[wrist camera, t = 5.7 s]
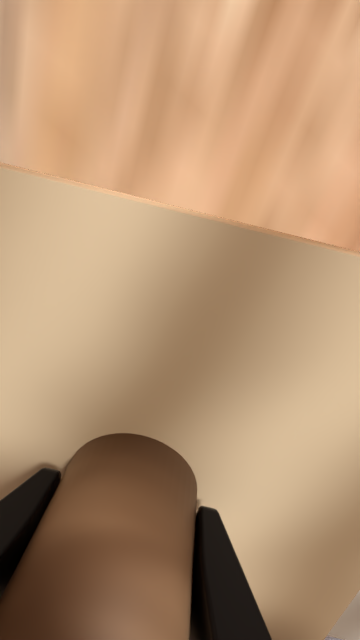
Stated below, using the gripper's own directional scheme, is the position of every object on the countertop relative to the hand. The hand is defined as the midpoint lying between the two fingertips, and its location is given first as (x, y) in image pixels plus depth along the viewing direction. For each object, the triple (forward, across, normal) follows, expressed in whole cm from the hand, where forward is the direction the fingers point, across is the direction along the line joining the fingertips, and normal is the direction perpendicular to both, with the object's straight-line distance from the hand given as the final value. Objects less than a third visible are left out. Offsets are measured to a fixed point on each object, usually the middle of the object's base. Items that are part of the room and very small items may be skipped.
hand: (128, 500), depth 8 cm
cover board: (+2, 0, 0) cm, 2 cm away
